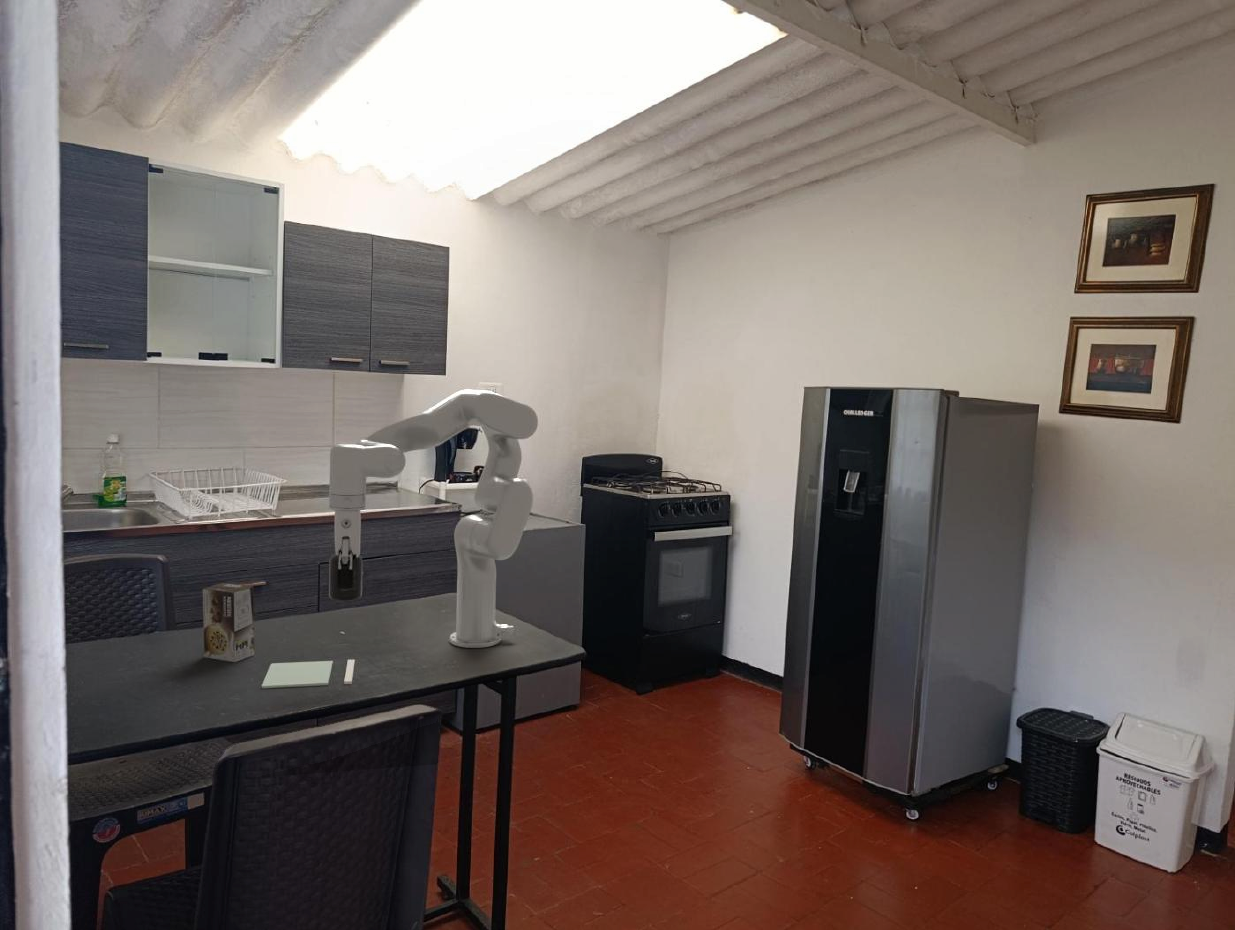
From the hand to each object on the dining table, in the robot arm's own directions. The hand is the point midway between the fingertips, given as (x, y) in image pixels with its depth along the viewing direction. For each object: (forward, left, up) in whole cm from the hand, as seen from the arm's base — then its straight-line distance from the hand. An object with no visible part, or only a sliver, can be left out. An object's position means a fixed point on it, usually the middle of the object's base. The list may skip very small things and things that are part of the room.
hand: (345, 582), depth 183 cm
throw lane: (+7, 0, -20) cm, 21 cm away
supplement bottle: (0, 0, -3) cm, 3 cm away
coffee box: (+26, -15, -20) cm, 36 cm away
